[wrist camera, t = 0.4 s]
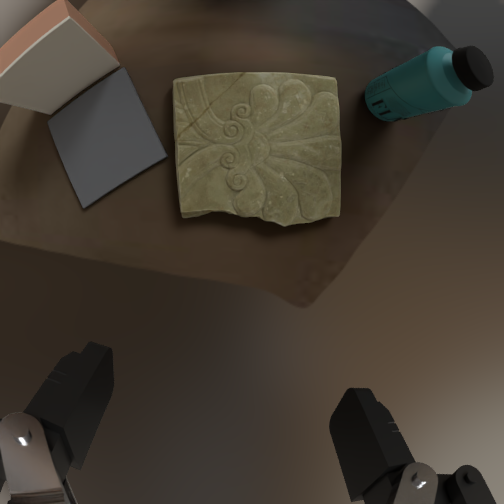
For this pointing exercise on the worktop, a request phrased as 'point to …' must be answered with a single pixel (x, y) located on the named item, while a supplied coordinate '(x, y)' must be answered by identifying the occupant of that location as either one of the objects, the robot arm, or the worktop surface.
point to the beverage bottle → (429, 83)
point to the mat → (105, 138)
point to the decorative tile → (258, 146)
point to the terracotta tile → (53, 59)
